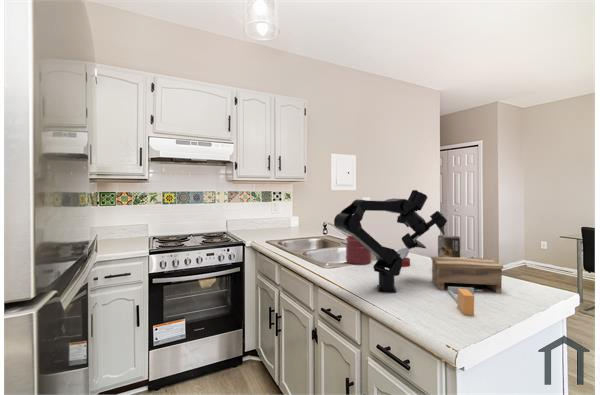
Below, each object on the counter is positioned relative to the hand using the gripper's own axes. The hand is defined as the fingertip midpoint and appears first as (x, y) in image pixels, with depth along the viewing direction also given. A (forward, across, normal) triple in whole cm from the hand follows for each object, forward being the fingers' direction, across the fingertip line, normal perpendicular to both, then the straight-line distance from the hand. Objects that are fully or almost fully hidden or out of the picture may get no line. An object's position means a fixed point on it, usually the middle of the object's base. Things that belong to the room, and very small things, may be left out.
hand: (434, 240), depth 125 cm
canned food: (+14, +22, -14) cm, 30 cm away
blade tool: (+1, +3, +30) cm, 30 cm away
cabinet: (+12, +3, +16) cm, 20 cm away
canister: (+2, +37, -21) cm, 42 cm away
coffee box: (+22, +6, -1) cm, 22 cm away
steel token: (+13, 0, +19) cm, 23 cm away
